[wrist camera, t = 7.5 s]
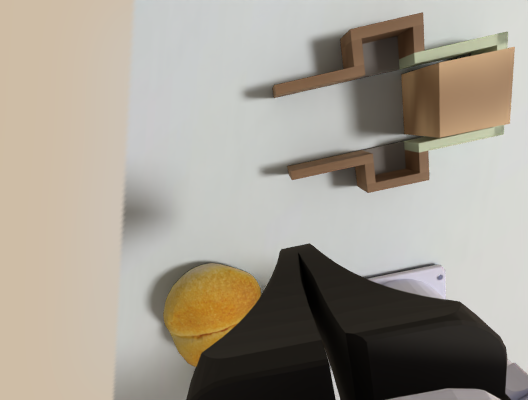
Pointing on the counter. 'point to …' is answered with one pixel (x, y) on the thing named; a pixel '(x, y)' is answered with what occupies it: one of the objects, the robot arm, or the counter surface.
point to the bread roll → (207, 306)
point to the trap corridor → (377, 62)
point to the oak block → (459, 95)
